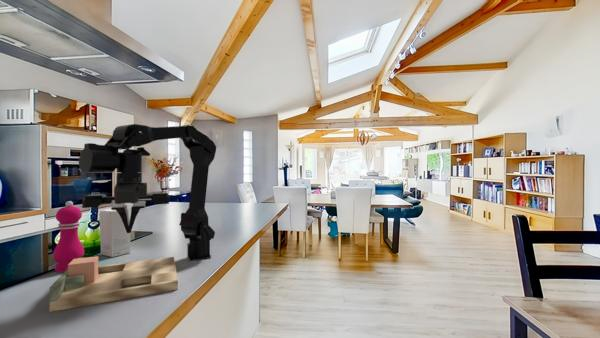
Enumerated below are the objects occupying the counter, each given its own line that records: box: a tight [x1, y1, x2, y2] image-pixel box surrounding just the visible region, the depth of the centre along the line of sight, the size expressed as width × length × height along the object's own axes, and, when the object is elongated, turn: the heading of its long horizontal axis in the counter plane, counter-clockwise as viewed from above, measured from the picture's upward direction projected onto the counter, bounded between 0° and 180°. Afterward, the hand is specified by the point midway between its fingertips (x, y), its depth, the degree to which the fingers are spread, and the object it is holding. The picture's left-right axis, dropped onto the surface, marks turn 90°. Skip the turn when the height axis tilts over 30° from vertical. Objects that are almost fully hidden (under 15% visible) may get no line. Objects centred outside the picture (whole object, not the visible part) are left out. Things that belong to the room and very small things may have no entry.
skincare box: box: [99, 208, 131, 258], centre depth 98 cm, size 8×7×16 cm
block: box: [68, 256, 99, 284], centre depth 68 cm, size 5×5×5 cm
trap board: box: [49, 256, 179, 313], centre depth 72 cm, size 24×22×5 cm
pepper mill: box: [52, 200, 85, 273], centre depth 83 cm, size 7×7×20 cm
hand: (128, 232), depth 73 cm, fingers closed
